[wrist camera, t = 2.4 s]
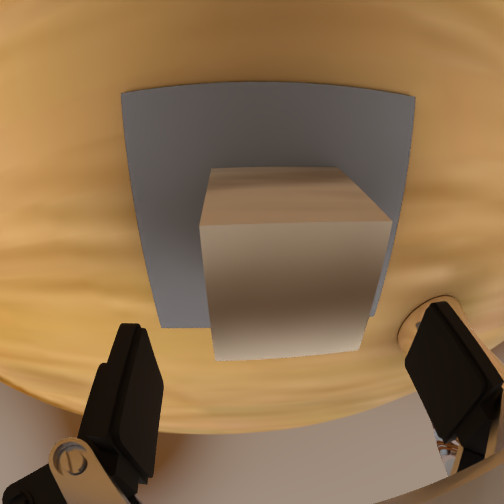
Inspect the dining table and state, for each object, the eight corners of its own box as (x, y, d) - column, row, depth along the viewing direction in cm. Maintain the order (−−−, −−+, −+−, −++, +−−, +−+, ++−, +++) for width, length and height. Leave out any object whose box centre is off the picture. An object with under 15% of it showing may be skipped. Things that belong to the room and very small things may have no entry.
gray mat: (124, 92, 12) (120, 93, 12) (410, 96, 13) (415, 97, 13) (162, 322, 20) (161, 328, 19) (371, 311, 20) (374, 316, 20)
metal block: (211, 168, 14) (199, 225, 9) (337, 167, 14) (392, 221, 9) (218, 275, 17) (215, 360, 12) (325, 270, 18) (358, 349, 12)
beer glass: (457, 336, 23) (527, 471, 10) (390, 364, 24) (447, 518, 11) (469, 278, 20) (574, 433, 7) (392, 308, 20) (481, 503, 7)
